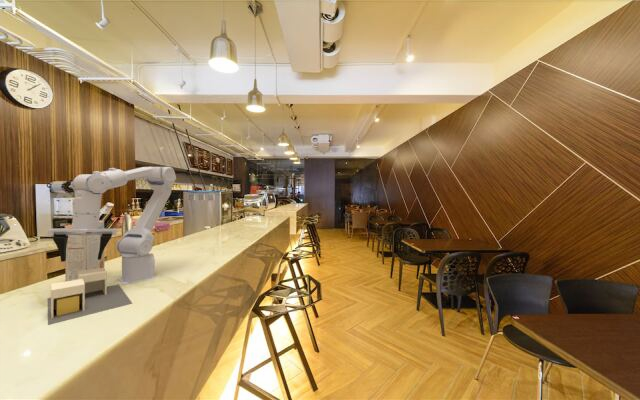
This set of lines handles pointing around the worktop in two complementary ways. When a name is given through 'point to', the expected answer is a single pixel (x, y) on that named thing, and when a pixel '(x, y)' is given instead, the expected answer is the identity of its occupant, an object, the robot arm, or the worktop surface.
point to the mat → (93, 304)
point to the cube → (67, 304)
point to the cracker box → (82, 253)
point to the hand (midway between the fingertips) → (81, 260)
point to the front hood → (67, 292)
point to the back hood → (94, 280)
